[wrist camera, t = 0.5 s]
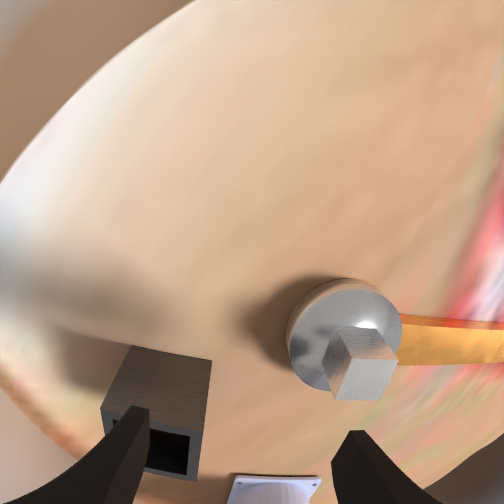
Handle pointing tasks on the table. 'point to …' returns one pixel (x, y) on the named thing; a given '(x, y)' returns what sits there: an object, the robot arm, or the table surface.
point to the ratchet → (376, 340)
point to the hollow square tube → (163, 407)
